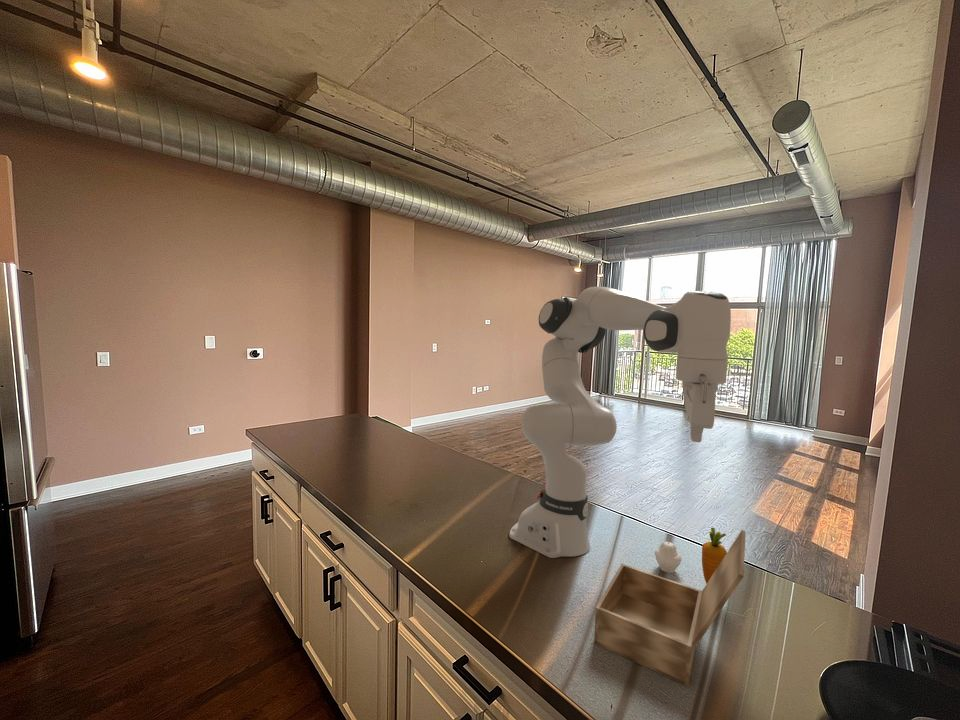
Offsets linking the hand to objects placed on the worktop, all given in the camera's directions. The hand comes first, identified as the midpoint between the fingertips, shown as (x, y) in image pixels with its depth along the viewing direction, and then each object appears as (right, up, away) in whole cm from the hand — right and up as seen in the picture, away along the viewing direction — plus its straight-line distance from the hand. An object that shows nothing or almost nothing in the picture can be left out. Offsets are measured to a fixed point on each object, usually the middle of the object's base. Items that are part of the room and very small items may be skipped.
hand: (695, 440), depth 81 cm
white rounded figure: (+3, -37, +19) cm, 42 cm away
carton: (-10, -37, -3) cm, 39 cm away
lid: (-1, -24, -10) cm, 25 cm away
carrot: (+9, -37, +11) cm, 40 cm away
